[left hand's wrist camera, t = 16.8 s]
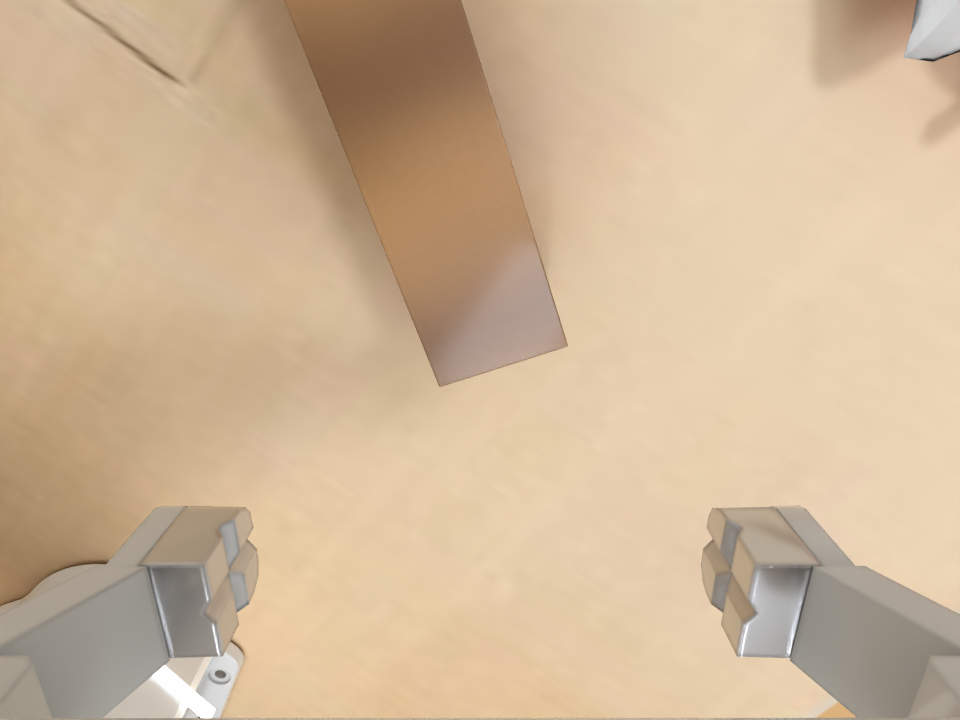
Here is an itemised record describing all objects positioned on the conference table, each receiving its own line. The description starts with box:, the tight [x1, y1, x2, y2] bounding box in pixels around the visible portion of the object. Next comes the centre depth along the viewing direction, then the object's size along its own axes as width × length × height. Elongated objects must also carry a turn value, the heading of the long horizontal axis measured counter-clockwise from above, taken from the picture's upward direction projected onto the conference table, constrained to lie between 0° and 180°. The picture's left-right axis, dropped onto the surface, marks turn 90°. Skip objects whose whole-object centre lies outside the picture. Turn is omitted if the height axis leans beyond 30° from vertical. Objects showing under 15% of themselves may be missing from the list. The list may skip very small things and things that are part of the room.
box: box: [284, 0, 568, 387], centre depth 28 cm, size 27×6×10 cm, turn 19°
